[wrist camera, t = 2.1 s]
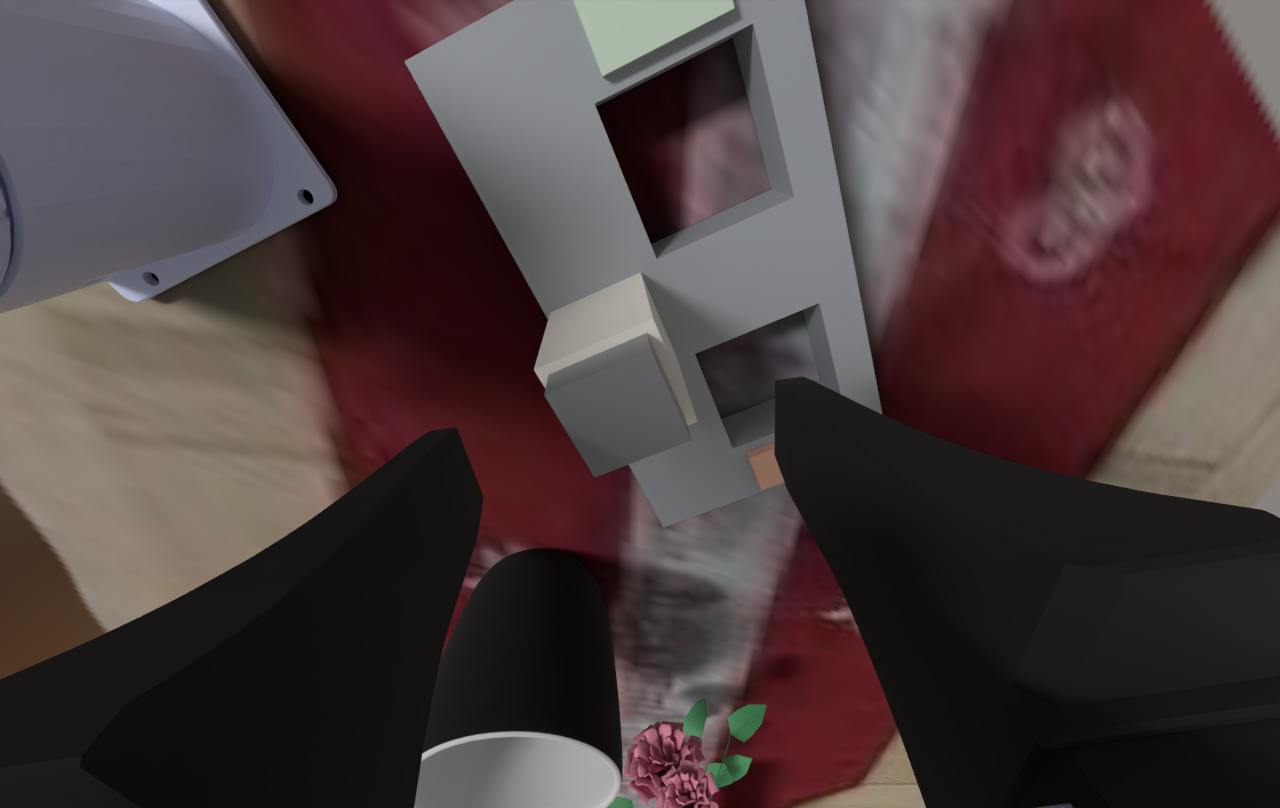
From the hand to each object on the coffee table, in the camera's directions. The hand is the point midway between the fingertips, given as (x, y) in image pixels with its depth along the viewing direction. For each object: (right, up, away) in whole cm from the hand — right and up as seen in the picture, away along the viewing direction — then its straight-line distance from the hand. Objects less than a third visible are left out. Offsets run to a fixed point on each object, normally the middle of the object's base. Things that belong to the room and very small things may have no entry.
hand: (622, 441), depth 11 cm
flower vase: (+5, -29, +29) cm, 41 cm away
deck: (+3, +6, +9) cm, 11 cm away
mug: (-5, -11, +18) cm, 22 cm away
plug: (0, +3, +7) cm, 8 cm away
